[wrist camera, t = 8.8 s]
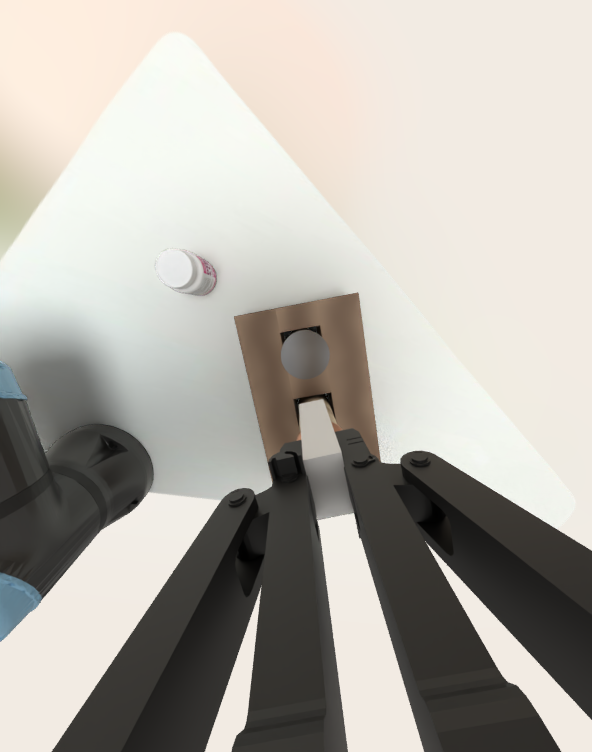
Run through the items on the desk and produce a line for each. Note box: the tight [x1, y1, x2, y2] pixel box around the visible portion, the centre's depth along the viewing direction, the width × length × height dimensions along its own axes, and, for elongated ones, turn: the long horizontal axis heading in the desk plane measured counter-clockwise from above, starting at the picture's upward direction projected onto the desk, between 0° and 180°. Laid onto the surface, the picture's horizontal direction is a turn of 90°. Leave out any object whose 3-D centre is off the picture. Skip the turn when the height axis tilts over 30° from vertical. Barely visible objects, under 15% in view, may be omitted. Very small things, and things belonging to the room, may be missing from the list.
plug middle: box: [296, 394, 342, 441], centre depth 31 cm, size 5×5×12 cm
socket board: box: [234, 293, 381, 483], centre depth 38 cm, size 14×26×8 cm, turn 11°
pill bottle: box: [155, 248, 216, 296], centre depth 34 cm, size 5×5×8 cm
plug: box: [281, 328, 330, 379], centre depth 34 cm, size 5×5×12 cm
